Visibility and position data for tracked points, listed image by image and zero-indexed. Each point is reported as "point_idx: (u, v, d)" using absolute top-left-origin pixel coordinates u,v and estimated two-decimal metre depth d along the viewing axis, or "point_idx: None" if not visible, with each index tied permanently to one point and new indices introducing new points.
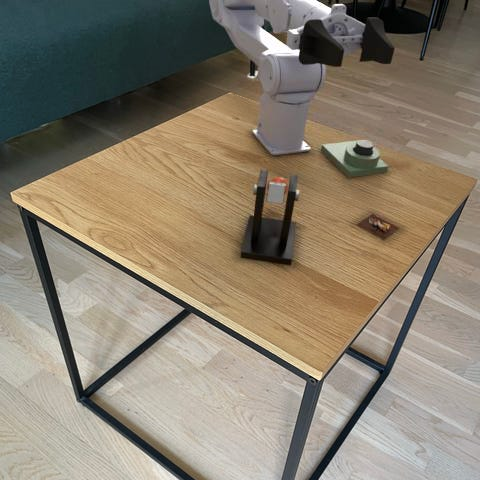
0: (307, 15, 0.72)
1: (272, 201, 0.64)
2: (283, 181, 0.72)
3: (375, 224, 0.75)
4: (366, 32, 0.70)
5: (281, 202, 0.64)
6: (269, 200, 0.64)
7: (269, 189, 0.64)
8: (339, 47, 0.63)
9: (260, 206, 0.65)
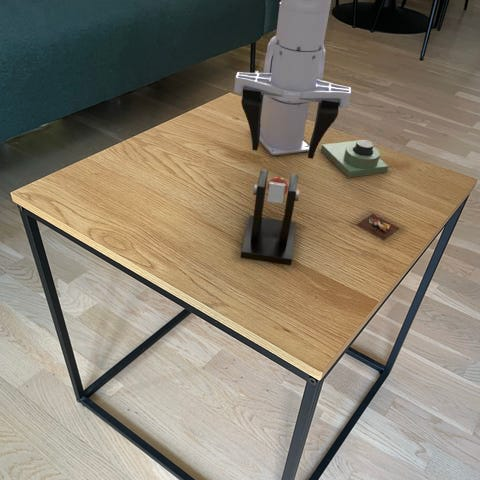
0: (278, 47, 0.58)
1: (272, 201, 0.64)
2: (283, 181, 0.72)
3: (375, 224, 0.75)
4: (318, 111, 0.63)
5: (281, 202, 0.64)
6: (269, 200, 0.64)
7: (269, 189, 0.64)
8: (254, 147, 0.68)
9: (260, 206, 0.65)
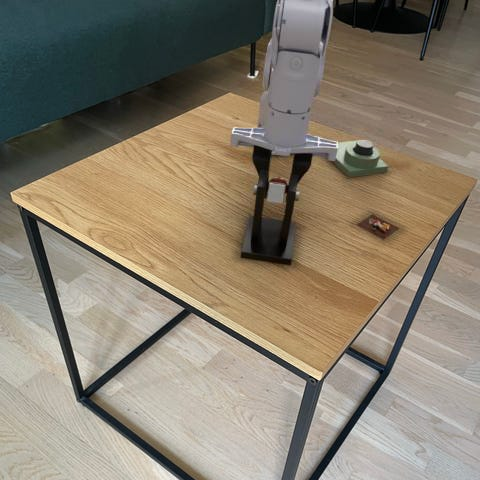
0: (270, 109, 0.63)
1: (272, 201, 0.64)
2: (283, 181, 0.72)
3: (375, 224, 0.75)
4: (293, 161, 0.68)
5: (281, 202, 0.64)
6: (269, 200, 0.64)
7: (269, 189, 0.64)
8: None
9: (260, 206, 0.65)
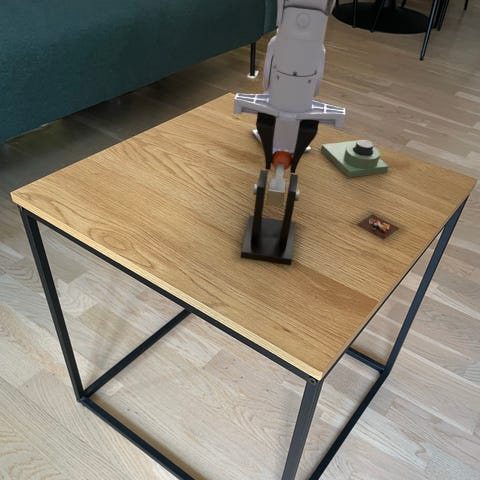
0: (275, 72, 0.61)
1: (272, 205, 0.65)
2: (287, 157, 0.69)
3: (375, 224, 0.75)
4: None
5: (280, 206, 0.65)
6: (269, 204, 0.65)
7: (268, 195, 0.64)
8: (267, 166, 0.70)
9: (260, 206, 0.65)
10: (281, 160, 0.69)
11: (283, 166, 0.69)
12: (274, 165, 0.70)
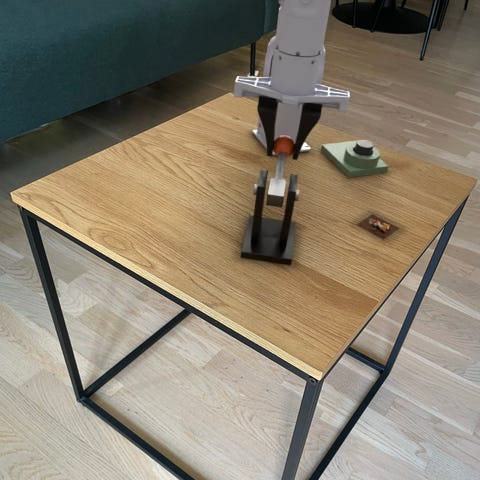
0: (278, 52, 0.59)
1: (271, 205, 0.66)
2: (289, 146, 0.67)
3: (375, 224, 0.75)
4: (301, 113, 0.64)
5: (280, 206, 0.66)
6: (268, 205, 0.66)
7: (268, 198, 0.64)
8: (268, 152, 0.68)
9: (260, 206, 0.65)
10: (283, 150, 0.67)
11: (284, 157, 0.67)
12: (276, 153, 0.68)
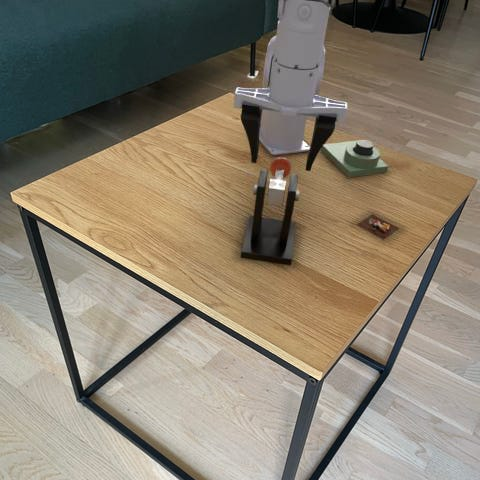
0: (276, 65, 0.60)
1: (272, 204, 0.65)
2: (286, 164, 0.70)
3: (375, 224, 0.75)
4: (315, 126, 0.65)
5: (281, 205, 0.65)
6: (269, 203, 0.65)
7: (268, 193, 0.64)
8: (253, 160, 0.69)
9: (260, 206, 0.65)
10: (280, 166, 0.70)
11: (282, 171, 0.69)
12: (273, 172, 0.71)
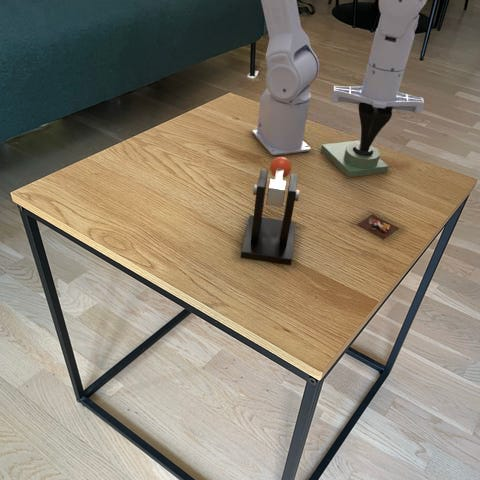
0: (371, 68, 0.76)
1: (272, 204, 0.65)
2: (286, 164, 0.70)
3: (375, 224, 0.75)
4: (375, 114, 0.81)
5: (281, 205, 0.65)
6: (269, 203, 0.65)
7: (268, 193, 0.64)
8: (362, 147, 0.85)
9: (260, 206, 0.65)
10: (280, 166, 0.70)
11: (282, 171, 0.69)
12: (273, 172, 0.71)
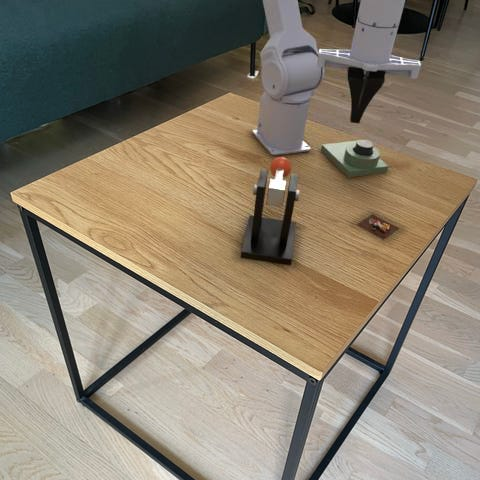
0: (361, 25, 0.67)
1: (272, 204, 0.65)
2: (286, 164, 0.70)
3: (375, 224, 0.75)
4: (366, 79, 0.72)
5: (281, 205, 0.65)
6: (269, 203, 0.65)
7: (268, 193, 0.64)
8: (352, 119, 0.76)
9: (260, 206, 0.65)
10: (280, 166, 0.70)
11: (282, 171, 0.69)
12: (273, 172, 0.71)
